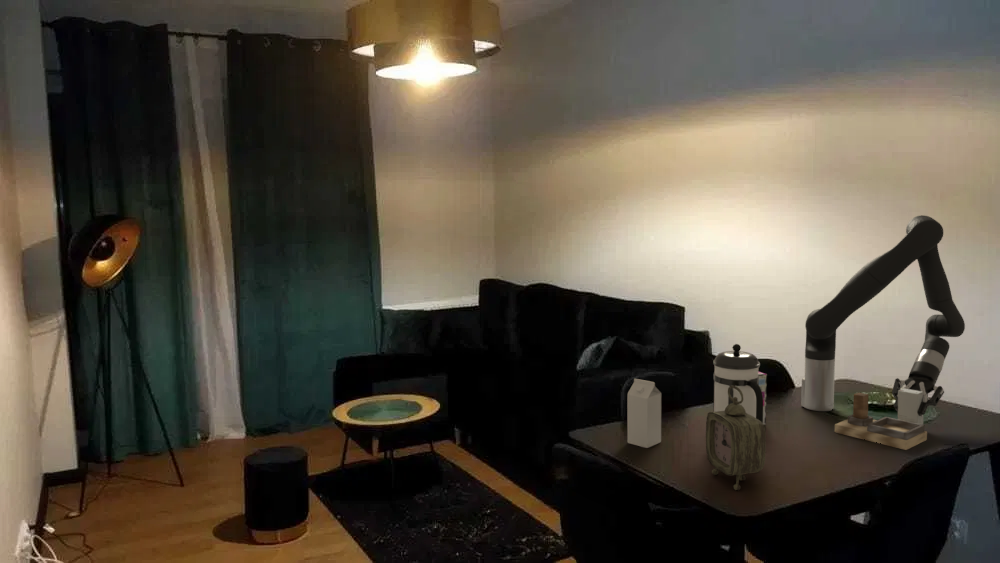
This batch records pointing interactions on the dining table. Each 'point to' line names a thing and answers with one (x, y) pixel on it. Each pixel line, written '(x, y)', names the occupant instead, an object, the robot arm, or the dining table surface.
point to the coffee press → (738, 381)
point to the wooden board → (880, 427)
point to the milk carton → (644, 414)
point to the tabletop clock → (735, 441)
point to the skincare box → (909, 405)
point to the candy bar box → (763, 392)
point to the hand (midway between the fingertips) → (908, 412)
